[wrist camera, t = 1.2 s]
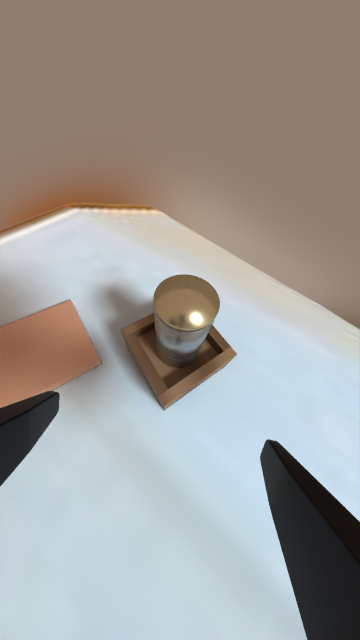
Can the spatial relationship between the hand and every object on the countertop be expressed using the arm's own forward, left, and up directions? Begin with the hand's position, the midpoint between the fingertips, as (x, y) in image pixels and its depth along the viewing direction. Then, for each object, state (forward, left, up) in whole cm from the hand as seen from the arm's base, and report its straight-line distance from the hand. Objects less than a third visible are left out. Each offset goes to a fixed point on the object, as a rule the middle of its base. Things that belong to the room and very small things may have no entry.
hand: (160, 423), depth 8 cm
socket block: (+6, +6, -14) cm, 16 cm away
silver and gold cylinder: (+6, +6, -11) cm, 13 cm away
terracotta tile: (-7, +15, -14) cm, 21 cm away
